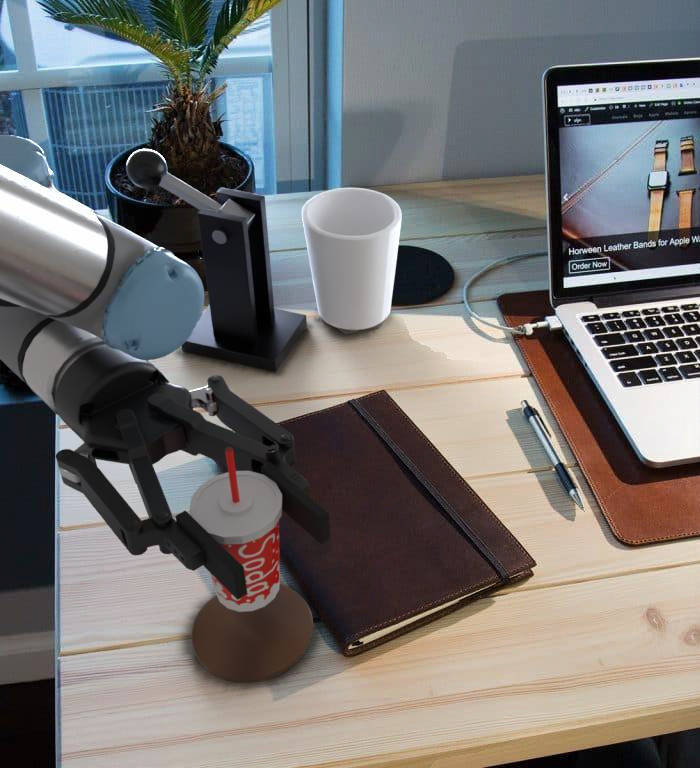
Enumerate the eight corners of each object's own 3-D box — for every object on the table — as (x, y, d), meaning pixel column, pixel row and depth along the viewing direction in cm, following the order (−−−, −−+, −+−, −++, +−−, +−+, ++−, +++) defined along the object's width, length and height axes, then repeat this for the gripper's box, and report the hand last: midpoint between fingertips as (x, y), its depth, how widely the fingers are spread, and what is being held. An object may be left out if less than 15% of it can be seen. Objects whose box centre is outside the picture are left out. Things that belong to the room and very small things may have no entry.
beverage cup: (209, 628, 73) (184, 491, 64) (200, 563, 78) (175, 425, 68) (297, 610, 75) (284, 474, 66) (283, 546, 79) (269, 410, 70)
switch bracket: (182, 351, 104) (160, 215, 94) (217, 307, 110) (201, 174, 100) (276, 372, 103) (264, 236, 93) (306, 326, 109) (299, 193, 99)
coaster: (196, 694, 75) (195, 689, 75) (188, 596, 82) (188, 591, 81) (321, 669, 78) (321, 664, 77) (304, 576, 84) (304, 571, 84)
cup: (351, 277, 116) (348, 176, 108) (419, 312, 112) (422, 210, 104) (287, 317, 110) (279, 213, 102) (357, 356, 106) (355, 250, 98)
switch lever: (114, 181, 96) (124, 152, 93) (134, 163, 98) (144, 135, 96) (232, 252, 98) (244, 225, 95) (248, 232, 100) (260, 206, 98)
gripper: (210, 368, 88) (393, 520, 77) (-12, 478, 77) (164, 674, 65) (199, 296, 83) (393, 446, 72) (-39, 401, 72) (146, 599, 61)
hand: (283, 555), depth 69 cm, fingers closed on beverage cup, 6 cm apart
